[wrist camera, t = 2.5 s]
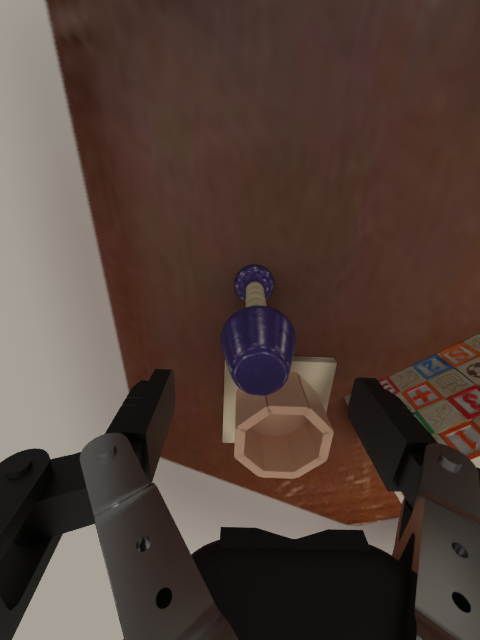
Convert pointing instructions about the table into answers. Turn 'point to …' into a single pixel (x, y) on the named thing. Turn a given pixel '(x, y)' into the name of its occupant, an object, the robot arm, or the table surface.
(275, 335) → the toy lamp
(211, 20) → the table surface
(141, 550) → the robot arm
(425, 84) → the table surface
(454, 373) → the stack of blocks
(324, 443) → the beige octagonal hollow piece
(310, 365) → the birch board
